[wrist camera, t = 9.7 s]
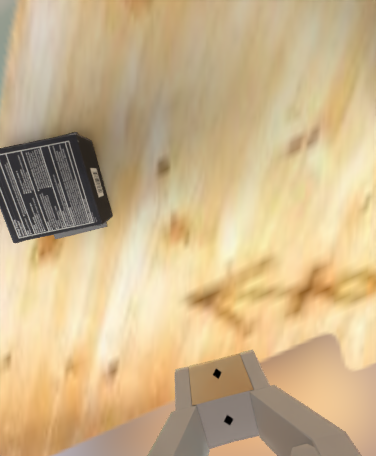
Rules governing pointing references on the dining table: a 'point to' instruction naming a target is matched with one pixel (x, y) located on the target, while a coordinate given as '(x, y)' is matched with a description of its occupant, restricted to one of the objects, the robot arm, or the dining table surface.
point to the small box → (51, 187)
